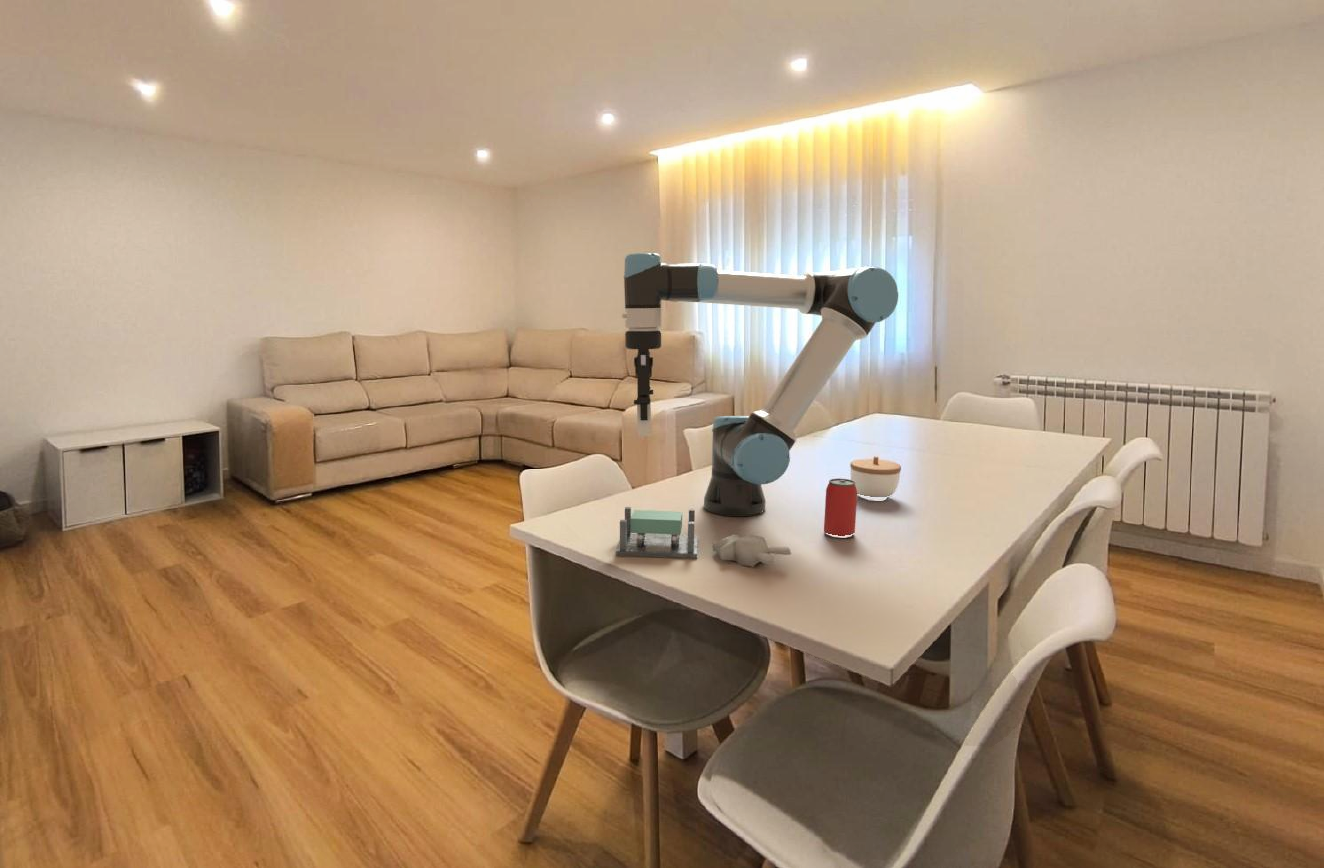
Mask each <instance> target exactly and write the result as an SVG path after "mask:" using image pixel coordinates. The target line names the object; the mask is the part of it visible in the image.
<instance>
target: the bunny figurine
mask: <svg viewBox="0 0 1324 868" xmlns="http://www.w3.org/2000/svg"><path fill="white" fill-rule="evenodd" d="M712 552H715V553H716V555H717V556H718V557H719V559H722V560H723V561H735V562H737V563H738V564H739V565H742V566H746V567H747V566H749V567H750V566H753V567H755V565H756V564H760V563H759V562H762V563H761V564H765V565H766V564H767V565H768V564H773V563H774V562H775V557H776V556H775V555H784V556H789V555H790V556H791V555H792V552H791V548H789V547H788V546H787V547H785V546H781V547H780V546H776V547H773V546H772V547H769V546H768V543H767V541H766V539H765V537H763V536H761V535H752V534H751V535H748V536H738V535H737V534H732V535H730V536H727V537H724V538H721V539H719V540H717V541H715V542H713V543H712ZM774 554H775V555H774Z"/></svg>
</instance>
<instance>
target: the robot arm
mask: <svg viewBox="0 0 1324 868" xmlns="http://www.w3.org/2000/svg"><path fill="white" fill-rule="evenodd" d="M623 272H624V273H623V274H624V275H623V280H624V281H623V283H624V284H623V286H624V287H623V288H624V309H625V311H624V312H625V313H623V314H621V318H623V319H624V320H625V321H624V322H625V324H624V327H625V328H626V329H628V330H626V331H625V336H624V337H625V340H624V341H625V348H626V349H628V350H637V355H636V357H634V358H633V359H634V360H633V365H634V368H635V369H634V371H635V375H634V376H635V377H636V378H637V390H636V391H637V398H636V399H633V405H636V410H637V411H636V416H637V417H636V419H637V420H636V421H637V423H636V424H637V425H636V426H637V436H638V437H651V436H652V435H651V434H652V427H651V426H652V413H651V412H652V411H651V410H652V408H651V407H652V406H651V405H652V404H651V395H654V389H651V384H650V383H651V381H650V380H651V378H652V376H653V366H654V357H653V356H651V352H650V350H658V349H660V348H662V332H661V331H660V330H659V329H661V328H662V301H668V302H687V303H703V304H705V303H706V304H719V305H732V306H733V305H737V306H750V307H764V308H765V307H767V308H778V309H779V308H780V309H783V308H784V309H795V310H798V311H799V312H800V313H801V314H804V315H814V316H821V321H820V323H819V324H818V325H817V327H816V329H815V330H814V331H813V333H812V334H811V336H810V338H809V339H808V341H807V342H806V343H805V345H804V346H803V348H802V349H801V351H800V352H799V354H798V356H797V357H796V358H795V360H794V361H793V363H792V364H791V366H790V367H789V369H788V370H787V371H786V373H785V375H784V376H783V377H782V379H781V381H780V382H779V384H778V385H777V387H776V388H775V390H774V391H773V393H772V394H771V396H770V397H769V399H768V400H767V401H766V403H765V405H764V406H763V408H762V409H760V410H755V411H752V412H751V413H750V415H724V416H716V417H715V418H714V419H713V423H712V429H711V433H712V446H711V447H712V448H711V452H712V453H711V454H712V455H711V477H710V480H709V483H708V485H707V488H706V492H705V494H704V497H703V508H704V509H705V510H706V511H708V512H709V513H712V514H714V515H715V514H716V515H719V516H727V517H751V515H752V516H757V515H759V514H758V513H760V514H762V513H763V512H762V511H764V510H765V511H766V497H765V494H764V491H763V487H762V486H763V485H769V484H771V483H773V482H775V481H777V480H780V478H781V477H782V476H783V475H784V474H785V472H786V471H787V470H788V468H789V465H790V461H791V457H790V456H791V455H790V451H791V449H792V448H793V446H794V445H795V443H796V441H797V438H796V437H797V436H796V433H795V431H796V429H797V428H798V426H799V425H800V423H801V422H802V420H803V419H804V418H805V416H806V414H807V413H808V411H809V410H810V409H811V407H812V406H813V404H814V403H815V401H816V399H817V398H818V397H819V395H820V394H821V392H822V391H823V389H824V387H825V386H826V384H827V383H828V382H829V380H830V379H831V377H832V376H833V374H834V373H835V371H837V369H838V367H839V366H840V364H841V363H842V361H843V359H844V358H845V357H846V355H847V354H848V352H849V351H850V349H851V347H852V346H853V345H854V343H855V342H856V341H859V340H863V339H866V338H867V337H868V335H869V334H870V332H871V331H872V329H873V328H874V326H875V324H876V323H881V322H883V321H884V320H886V319H888V318H889V317H890V316H891V315H892V314H893V313H894V311H895V310H896V307H897V305H898V303H899V302H898V301H899V291H898V290H899V289H898V284H897V282H896V280H895V278H894V276H892V274H891V273H890V272H888V271H887V270H885V269H884V268H881V267H877V266H872V265H871V266H870V265H866V266H865V265H864V266H860V267H857V268H855V267H854V268H846V269H840V270H833V271H826V272H825V271H824V272H805V273H804V274H803V275H788V274H774V273H773V274H772V273H760V272H746V271H733V270H732V271H731V270H718V269H717V267H716V266H715V264H711V263H702V262H700V263H666V262H665V263H663V262H662V260H661V256H660V254H659V253H655V252H653V253H650V252H635V253H629V254H628V255H626V256H625V258H624V271H623ZM765 511H764V512H765ZM761 512H762V513H761ZM756 514H757V515H756Z"/></svg>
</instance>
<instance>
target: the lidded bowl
mask: <svg viewBox="0 0 1324 868" xmlns="http://www.w3.org/2000/svg"><path fill="white" fill-rule="evenodd" d="M849 466H850V467H849V468H850V480H852V481H854V482H855V483H856V484H855V486H856V489H857V495H858V494H860V495H864V496H870V497H887V496H890V495H891V496H892V495H894V493H895V492H896V491H897V488H898V486H899V482H900V477H901V471H902V466H901V465H900V463H897V462H894V461H890V460H886V459H879V456H875V455H874V456H873V458H859V459H854V460H852V461H850V465H849ZM891 496H890V497H891Z"/></svg>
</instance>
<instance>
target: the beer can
mask: <svg viewBox="0 0 1324 868" xmlns="http://www.w3.org/2000/svg"><path fill="white" fill-rule="evenodd" d="M855 484H856V483H855V482H854V481H852V480H851V479H847V478H841V477H840V478H831V479H829V480H828V484H827V486H826V489H825V503H824V517H823V518H824V520H823V532H824V534H825V533H828V534H832V535H838V536H845V535H851V534H853V533H856V521H857V520H856V519H857V505H858V494H857V489H856V486H855Z"/></svg>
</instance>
